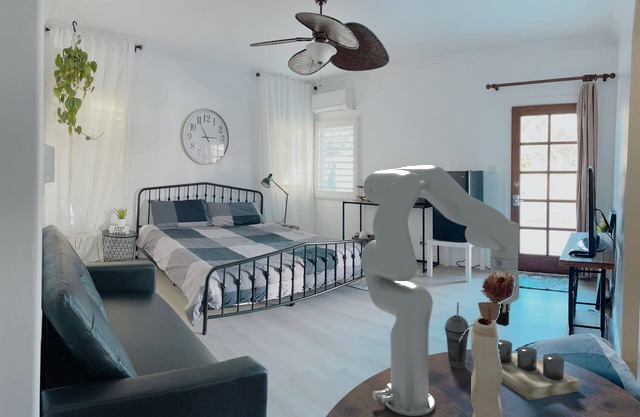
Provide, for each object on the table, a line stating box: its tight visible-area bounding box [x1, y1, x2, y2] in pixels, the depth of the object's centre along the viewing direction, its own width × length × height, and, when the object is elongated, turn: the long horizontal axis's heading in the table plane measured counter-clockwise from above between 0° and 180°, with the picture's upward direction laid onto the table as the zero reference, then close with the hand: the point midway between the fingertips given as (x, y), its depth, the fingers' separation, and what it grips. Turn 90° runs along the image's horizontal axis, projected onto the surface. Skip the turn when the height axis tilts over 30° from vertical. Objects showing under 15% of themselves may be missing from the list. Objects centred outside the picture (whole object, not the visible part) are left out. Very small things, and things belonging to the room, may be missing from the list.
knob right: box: [542, 353, 565, 380], centre depth 118 cm, size 5×5×5 cm
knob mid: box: [516, 346, 538, 371], centre depth 124 cm, size 5×5×5 cm
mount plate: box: [501, 352, 579, 401], centre depth 124 cm, size 16×20×3 cm
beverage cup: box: [444, 302, 470, 369], centre depth 133 cm, size 7×7×20 cm
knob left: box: [498, 339, 513, 363], centre depth 129 cm, size 5×5×5 cm
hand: (502, 324), depth 128 cm, fingers closed
